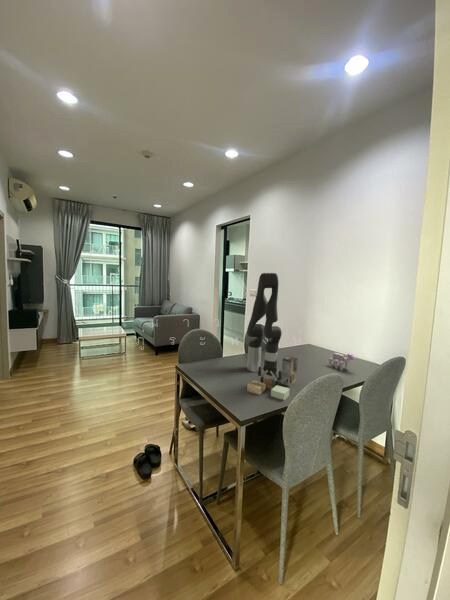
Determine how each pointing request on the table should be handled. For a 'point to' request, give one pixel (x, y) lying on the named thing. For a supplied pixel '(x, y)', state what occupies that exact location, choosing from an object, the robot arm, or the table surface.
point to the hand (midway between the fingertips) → (268, 384)
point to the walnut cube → (269, 382)
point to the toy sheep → (341, 359)
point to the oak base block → (256, 387)
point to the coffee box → (289, 370)
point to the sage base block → (280, 392)
